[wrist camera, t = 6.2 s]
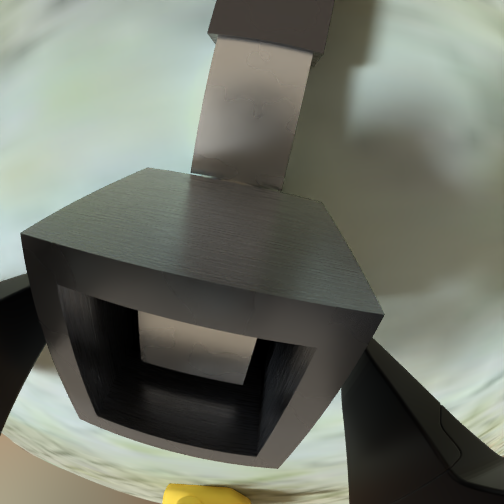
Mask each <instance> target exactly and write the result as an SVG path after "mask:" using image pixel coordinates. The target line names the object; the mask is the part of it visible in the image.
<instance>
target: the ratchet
mask: <svg viewBox="0 0 504 504" xmlns="http://www.w3.org/2000/svg"><path fill="white" fill-rule="evenodd" d="M333 5H334V0H217V1H216V4H215V8H214V11H213V15H212V18H211V22H210V26H209V29H208V35H209V36H210V37H211V39H212V40H213V41H214V43H215V44H216V46H215V50H214V54H213V58H212V63H211V67H210V71H209V76H208V80H207V85H206V90H205V95H204V99H203V104H202V110H201V115H200V120H199V125H198V131H197V137H196V143H195V148H194V155H193V161H192V167H191V173H196V174H201V176H203V177H208V178H213V179H219V180H224V181H229V182H234V183H239V184H244V185H249V186H254V187H258V188H263V189H268V190H272V191H277V190H281V191H282V186H283V182H284V178H285V174H286V170H287V165H288V161H289V157H290V153H291V148H292V144H293V140H294V136H295V131H296V127H297V123H298V118H299V114H300V110H301V105H302V101H303V96H304V92H305V87H306V83H307V79H308V74H309V70H310V66H313V67H314V65H315V64H316V63H317V61H318V60H319V59H320V57H321V56H322V55H323V53H324V49H325V44H326V39H327V34H328V30H329V25H330V20H331V15H332V10H333ZM277 192H278V191H277ZM138 321H139V337H140V350H141V361H143V362H147V363H150V364H154V365H157V366H161V367H164V368H168V369H172V370H176V371H180V372H184V373H188V374H192V375H196V376H200V377H205V378H209V379H214V380H219V381H224V382H229V383H234V384H240V385H243V382H244V379H245V376H246V373H247V370H248V366H249V363H250V360H251V356H252V353H253V350H254V347H255V343H256V340H257V338H254V337H249V336H244V335H239V334H234V333H229V332H224V331H219V330H215V329H210V328H206V327H201V326H197V325H193V324H188V323H184V322H180V321H176V320H172V319H168V318H164V317H160V316H157V315H153V314H149V313H146V312H142V311H138Z"/></svg>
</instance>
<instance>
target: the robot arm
mask: <svg viewBox="0 0 504 504" xmlns="http://www.w3.org/2000/svg"><path fill="white" fill-rule="evenodd" d="M45 345H46V340H45V337H44V334H43V331H42V328H41V324H40V321H39V318H38V314H37V311H36V307H35V304H34V300H33V296H32V292H31V288H30V284H29V279H28V275H27V273H26V274H23V275H20V276H17V277H14V278H11V279H7V280H4V281H1V282H0V435H1V432H2V430H3V427H4V425H5V423H6V420H7V418H8V416H9V413H10V411H11V409H12V407H13V405H14V403H15V401H16V398H17V396H18V394H19V392H20V390H21V388H22V386H23V384H24V382H25V381H26V379H27V377H28V375H29V373H30V371H31V369H32V367H33V366H34V364H35V362H36V360H37V358H38V357H39V355H40V353H41V351H42V350H43V348H44V346H45ZM341 399H342V410H343V420H344V430H345V440H346V452H347V466H348V482H349V504H504V457H502V456H500V455H498V454H497V453H495V452H494V451H493V450H492V449H490V448H489V447H488V446H487V445H486V444H485V443H483V442H482V441H481V440H480V439H479V438H477V437H476V436H475V435H474V434H473V433H472V432H470V431H469V430H468V429H467V428H466V427H465V426H464V425H462V424H461V423H460V422H459V421H458V420H457V419H456V418H455V417H454V416H453V415H452V414H451V413H450V412H449V411H448V410H447V409H446V408H445V407H444V406H443V405H440V402H439V401H438V400H437V399H436V398H434V397H433V396H432V395H431V394H430V393H429V392H428V391H427V390H426V389H425V388H424V387H423V386H422V385H421V384H420V383H419V382H418V381H417V380H416V379H415V378H414V377H413V376H412V375H411V374H410V373H409V372H408V371H407V370H406V369H405V368H404V367H403V366H402V365H401V364H399V363H398V362H397V361H396V360H395V359H394V358H393V357H392V356H391V355H390V354H389V353H388V352H387V351H386V350H385V349H384V348H383V347H382V346H381V345H380V344H379V343H377V342H376V341H375V340H374V339H373V338H371V340H370V342H369V344H368V345H367V347H366V349H365V350H364V352H363V354H362V355H361V357H360V359H359V360H358V362H357V364H356V365H355V367H354V368H353V370H352V372H351V373H350V375H349V376H348V378H347V379H346V381H345V382H344V384H343V385H342V387H341Z"/></svg>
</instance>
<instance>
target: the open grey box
mask: <svg viewBox="0 0 504 504" xmlns="http://www.w3.org/2000/svg"><path fill="white" fill-rule="evenodd" d="M20 234H21V241H22V248H23V254H24V259H25V265H26V270H27V275H28V279H29V284H30V288H31V292H32V296H33V300H34V304H35V307H36V311H37V314H38V318H39V321H40V324H41V328H42V331H43V334H44V337H45V340H46V343H47V345H48V348H49V351H50V354H51V356H52V359H53V361H54V364H55V366H56V369H57V371H58V374H59V376H60V378H61V381H62V383H63V385H64V388H65V390H66V392H67V394H68V396H69V398H70V400H71V402H72V404H73V406H74V408H75V410H76V412H77V414H78V416H79V418H80V419H82V420H84V421H86V422H88V423H91V424H93V425H95V426H98V427H100V428H103V429H105V430H108V431H110V432H113V433H115V434H118V435H121V436H124V437H126V438H129V439H132V440H135V441H138V442H141V443H144V444H148V445H151V446H154V447H158V448H161V449H165V450H168V451H172V452H176V453H180V454H184V455H189V456H193V457H198V458H203V459H208V460H213V461H219V462H224V463H231V464H238V465H245V466H254V467H264V468H276V469H278V468H279V467H280V466H281V465H282V464H283V462H284V461H285V460H286V459H287V458H288V457H289V455H290V454H291V453H292V452H293V451H294V450H295V448H296V447H297V446H298V445H299V444H300V442H301V441H302V440H303V439H304V437H305V436H306V435H307V434H308V432H309V431H310V430H311V428H312V427H313V426H314V425H315V423H316V422H317V421H318V419H319V418H320V417H321V415H322V414H323V413H324V411H325V410H326V408H327V407H328V406H329V404H330V403H331V401H332V400H333V399H334V397H335V396H336V394H337V393H338V391H339V390H340V388H341V387H342V385H343V384H344V382H345V381H346V379H347V378H348V376H349V375H350V373H351V372H352V370H353V368H354V367H355V365H356V364H357V362H358V360H359V359H360V357H361V355H362V354H363V352H364V350H365V349H366V347H367V345H368V344H369V342H370V340H371V338H372V337H373V335H374V333H375V331H376V330H377V328H378V326H379V324H380V322H381V320H382V318H383V317H384V313H383V311H382V309H381V307H380V305H379V303H378V301H377V299H376V297H375V295H374V293H373V291H372V289H371V287H370V285H369V283H368V281H367V280H366V278H365V276H364V274H363V272H362V270H361V268H360V267H359V265H358V263H357V261H356V259H355V258H354V256H353V254H352V252H351V250H350V249H349V247H348V245H347V243H346V242H345V240H344V238H343V236H342V235H341V233H340V231H339V230H338V228H337V226H336V225H335V223H334V221H333V220H332V218H331V216H330V215H329V213H328V211H327V210H326V208H325V206H324V205H323V203H322V202H319V201H315V200H311V199H307V198H302V197H298V196H294V195H290V194H285V193H281V192H277V191H272V190H268V189H263V188H258V187H254V186H249V185H244V184H239V183H234V182H229V181H224V180H219V179H213V178H208V177H203V176H197V175H191V174H185V173H179V172H173V171H167V170H160V169H154V168H145V169H143V170H141V171H138V172H136V173H134V174H132V175H129V176H127V177H125V178H123V179H120V180H118V181H116V182H114V183H112V184H110V185H107V186H105V187H103V188H101V189H99V190H97V191H95V192H93V193H91V194H89V195H87V196H85V197H83V198H81V199H79V200H77V201H75V202H73V203H71V204H70V205H68V206H66V207H64V208H62V209H60V210H59V211H57V212H55V213H53V214H51V215H50V216H48V217H46V218H44V219H43V220H41V221H39V222H38V223H36V224H34V225H33V226H31V227H29V228H28V229H26V230H24V231H23V232H21V233H20ZM138 311H142V312H146V313H149V314H153V315H157V316H160V317H164V318H168V319H172V320H176V321H180V322H184V323H188V324H193V325H197V326H201V327H206V328H210V329H215V330H219V331H224V332H229V333H234V334H239V335H244V336H249V337H254V338H257V340H256V343H255V347H254V350H253V353H252V356H251V360H250V363H249V366H248V370H247V373H246V376H245V379H244V382H243V385H240V384H234V383H229V382H224V381H219V380H214V379H209V378H205V377H200V376H196V375H192V374H188V373H184V372H180V371H176V370H172V369H168V368H164V367H161V366H157V365H154V364H150V363H147V362H143V361H141V350H140V337H139V321H138Z"/></svg>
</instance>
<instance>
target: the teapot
mask: <svg viewBox="0 0 504 504" xmlns="http://www.w3.org/2000/svg"><path fill="white" fill-rule="evenodd" d="M162 504H251V502H250V499H248V498H247V497H245V496H244V495H242V494H240V493H239V492H237V491H235V490H234V489H232V488H228V487H216V486H201V485H186V484H169V485H168V486H167V488H166V490H165V492H164V496H163V503H162Z"/></svg>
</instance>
